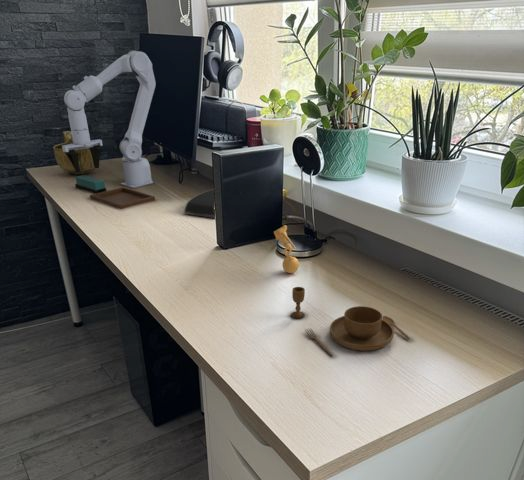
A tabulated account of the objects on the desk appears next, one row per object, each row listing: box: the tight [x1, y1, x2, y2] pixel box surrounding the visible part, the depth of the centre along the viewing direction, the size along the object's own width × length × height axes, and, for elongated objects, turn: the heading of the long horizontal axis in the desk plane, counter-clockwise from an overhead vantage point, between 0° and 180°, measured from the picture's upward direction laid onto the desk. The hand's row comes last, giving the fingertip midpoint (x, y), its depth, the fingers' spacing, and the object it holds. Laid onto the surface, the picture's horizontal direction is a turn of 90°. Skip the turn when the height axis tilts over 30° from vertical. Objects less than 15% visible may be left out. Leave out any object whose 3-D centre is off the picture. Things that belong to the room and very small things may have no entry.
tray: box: [89, 186, 156, 210], centre depth 177 cm, size 14×19×2 cm
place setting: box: [290, 286, 411, 357], centre depth 100 cm, size 18×20×6 cm
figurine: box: [273, 224, 300, 274], centre depth 121 cm, size 8×6×12 cm
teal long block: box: [74, 174, 107, 194], centre depth 188 cm, size 14×4×4 cm, turn 47°
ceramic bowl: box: [52, 130, 96, 176], centre depth 207 cm, size 22×17×15 cm
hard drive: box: [183, 188, 216, 219], centre depth 167 cm, size 13×19×4 cm
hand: (87, 169), depth 185 cm, fingers open, 7 cm apart
